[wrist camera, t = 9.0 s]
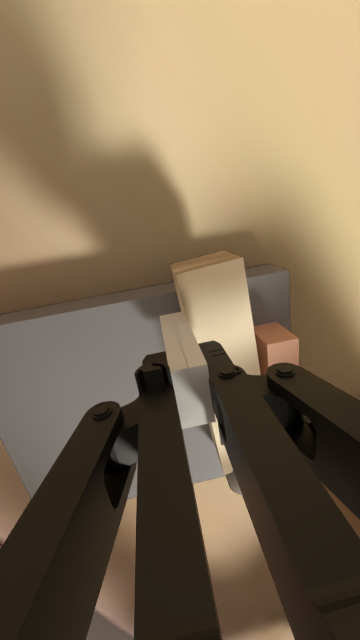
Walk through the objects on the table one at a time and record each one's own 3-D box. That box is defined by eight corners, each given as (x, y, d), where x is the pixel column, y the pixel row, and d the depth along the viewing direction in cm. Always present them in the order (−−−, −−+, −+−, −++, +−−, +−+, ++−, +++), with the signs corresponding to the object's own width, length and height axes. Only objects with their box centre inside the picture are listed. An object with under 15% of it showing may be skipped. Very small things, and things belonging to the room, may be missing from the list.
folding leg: (258, 449, 23) (277, 487, 20) (218, 460, 23) (230, 500, 19) (224, 250, 17) (243, 257, 14) (169, 264, 17) (175, 274, 14)
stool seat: (277, 435, 27) (312, 491, 21) (52, 486, 26) (26, 560, 20) (269, 263, 21) (315, 278, 15) (-24, 319, 20) (-91, 357, 14)
